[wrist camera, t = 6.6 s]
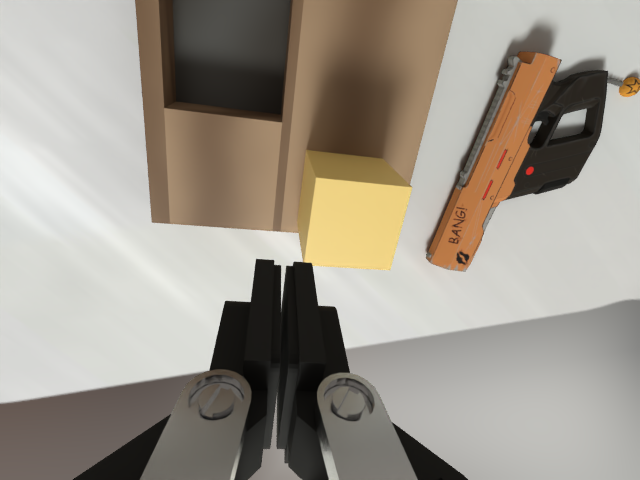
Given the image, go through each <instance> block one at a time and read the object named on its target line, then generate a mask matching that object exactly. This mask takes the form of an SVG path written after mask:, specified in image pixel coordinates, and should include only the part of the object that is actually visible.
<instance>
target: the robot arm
mask: <svg viewBox="0 0 640 480" xmlns="http://www.w3.org/2000/svg"><path fill="white" fill-rule="evenodd" d="M276 396H277V449H285V463H288V465H289V467H290V468H291V469H292V470H293V471H294V472H295V473H296V474H297V475H298V476H299V477H300V480H468V479H467V478H466V477H465V476H464V475H462V474H461V473H460V472H458V471H457V470H456V469H454V468H453V467H452V466H450V465H449V464H448V463H446V462H445V461H444V460H442V459H441V458H439V457H438V456H437V455H435V454H434V453H432V452H431V451H430V450H428V449H427V448H426V447H425V446H423V445H422V444H421V443H419V442H418V441H417V440H415V439H414V438H413V437H411V436H410V435H408V434H407V433H406V432H405V431H403V430H402V429H400V428H399V427H398V426H396V425H395V424H394V423H392V422H391V420H390V417H389V415H388V413H387V411H386V409H385V406H384V404H383V402H382V400H381V398H380V395H379V394H378V392H377V391H376V389H375V387H374V386H373V385H371V383H369V382H368V381H367V380H365V379H364V378H362V377H360V376H358V375H355V374H351V373H350V371H349V366H348V361H347V357H346V352H345V347H344V342H343V338H342V333H341V328H340V324H339V319H338V314H337V310H336V308H335V307H330V306H318V302H317V295H316V288H315V281H314V274H313V266H312V263H306V262H294V263H293V266H286V273H285V282H284V291H283V300H282V309H281V265H274V260H264V259H256V264H255V272H254V280H253V289H252V297H251V302H237V301H225V304H224V308H223V313H222V317H221V322H220V326H219V330H218V335H217V339H216V344H215V348H214V353H213V357H212V362H211V366H210V371H206V372H204V373H202V374H200V375H198V376H196V377H195V378H194V379H192V380H191V381H190V382H189V383H188V384H187V385H186V386H185V388H184V389H183V391H182V393H181V395H180V397H179V399H178V401H177V403H176V406H175V408H174V410H173V412H172V414H170V415H169V416H167V417H166V418H164V419H163V420H161V421H160V422H158V423H157V424H155V425H154V426H152V427H151V428H149V429H148V430H146V431H145V432H143V433H142V434H140V435H139V436H137V437H136V438H134V439H133V440H131V441H130V442H128V443H127V444H125V445H124V446H122V447H121V448H120V449H118V450H116V451H115V452H113V453H112V454H110V455H109V456H107V457H106V458H104V459H103V460H101V461H100V462H98V463H97V464H95V465H94V466H92V467H91V468H89V469H88V470H86V471H85V472H83V473H82V474H80V475H79V476H77V477H76V478H74V479H73V480H248V479H249V478H250V477H251V476H252V475H253V474H254V473H255V472H256V471H257V470H258V469H259V468H260V467H261V462H262V453H263V449H270V445H271V437H272V429H273V421H274V413H275V404H276Z"/></svg>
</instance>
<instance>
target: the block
mask: <svg viewBox="0 0 640 480" xmlns="http://www.w3.org/2000/svg"><path fill="white" fill-rule="evenodd" d="M411 190H412V187H411V186H410V185H409V184H408V183H407V182H406V181H405V180H404V179H403V178H402V177H401V176H400V175H399V174H398V173H397V172H396V171H395V170H394V169H393V168H392V167H391V166H390V165H389V164H388V163H387V162H386V161H385V160H384V159H381V158H372V157H364V156H355V155H346V154H337V153H328V152H320V151H311V150H306V155H305V163H304V171H303V179H302V187H301V195H300V203H299V211H298V219H297V225H298V232H299V238H300V245H301V251H302V257H303V262H306V263H312V266H326V267H344V268H361V269H378V270H390V269H391V265H392V261H393V258H394V254H395V250H396V247H397V243H398V239H399V235H400V232H401V228H402V224H403V220H404V217H405V213H406V209H407V205H408V202H409V198H410V194H411Z"/></svg>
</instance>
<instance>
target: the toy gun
mask: <svg viewBox="0 0 640 480" xmlns="http://www.w3.org/2000/svg"><path fill="white" fill-rule="evenodd" d="M561 61H562V60H560V59H558V58H555V57H552V56H549V55H546V54H541V53H537V52H519V54H518V56H509V58H508V67H507V68H506V69H503V70H502V73H501V74H504V76H503V78H502V80H498V82H497V84H498V86H499V88H498V90H497V92H496V95H495V97H494V100H493V102H492V104H491V107H490V109H489V111H488V114H487V116H486V118H485V121H484V123H483V125H482V128H481V130H480V132H479V135H478V137H477V139H476V142H475V144H474V147H473V149H472V151H471V154H470V156H469V158H468V161H467V163H466V165H465V168H464V170H463V171H461V172H460V179H459V182H458V183H457V185H456V187H455V189H454V192H453V194H452V197H451V199H450V201H449V204H448V206H447V208H446V211H445V213H444V215H443V218H442V220H441V222H440V225H439V227H438V230H437V232H436V234H435V237H434V239H433V241H432V244H431V246H430V248H429V251H428V253H427V254H426V255H427V256H426V259H427V260H428V261H429V262H430V263H431V264H434V265H436V266H439V267H442V268H445V269H448V270H455V271H463V272H466V269H467V268H468V267H469V265H470V264H471V261H472V259H473V257H474V255H475V253H476V251H477V249H478V247H479V245H480V243H481V241H482V236H483V234H484V230H485V228H486V226H487V224H488V222H489V220H490V218H491V216H492V214H493V212H494V210H495V208H496V207H497V206H498V204H499V203H500V201H504V200H507V199H511V198H515V197H519V196H523V195H527V194H531V193H533V194H540V193H544V192H547V191H551V190H555V189H558V188H562V187H564V186H565V185H566V184H569V183H571V182H572V181H574V180H575V179H577V177H578V175H579V173H580V172H581V170H582V168H583V166H584V164H585V163H586V161H587V159H588V157H589V155H590V154H591V152H592V150H593V148H594V147H595V145H596V143H597V141H598V139H599V137H600V133H601V128H602V122H603V115H604V108H605V101H606V92H607V83H611V84H615V85H618V86H620V88H619V93H620V95H622V96H624V97H629V96H632V95H635V94H636V93H637V92H638V91H639V90H640V80H639V79H638V78H635V77H629V78H627V79H625V80H624V81H623V82H621V81H617V80H614V79H613V78H610V79H608V78H607V77H608V71H602V70H595V71H587V72H580V73H576V74H573V75H571V76H569V77H567V78H566V79H564V80H562V81H560V82H553V78H554V76H555V74H556V71H557V69H558V67H559V65H560V63H561ZM586 108H587V113H586V120H585V126H584V130H583V131H582V133H580V134H578V135H574V136H568V137H563V138H557V139H552V140H550V139H551V137H552V135H553V133H554V131H555V129H556V127H557V125H558V123H559V121H560V119H561V117H562V116H563V114H566V113H570V112H573V111H577V110H581V109H586ZM535 121H542V124H541V126H540V128H539V129H538V131H537V133H536V135H535V137H534V139H533V141H532V142H531V143H530V144H528V137H529V134H530V131H531V129H532V126H533V125H534V122H535Z"/></svg>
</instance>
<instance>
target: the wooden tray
mask: <svg viewBox="0 0 640 480" xmlns="http://www.w3.org/2000/svg"><path fill="white" fill-rule="evenodd" d="M457 1H458V0H135V4H136V17H137V30H138V44H139V57H140V70H141V84H142V97H143V110H144V123H145V137H146V150H147V163H148V177H149V190H150V203H151V217H152V222H153V223H167V224H181V225H195V226H209V227H223V228H237V229H251V230H265V231H279V232H293V233H299V232H298V225H297V219H298V211H299V203H300V195H301V187H302V179H303V171H304V163H305V155H306V150H311V151H320V152H328V153H337V154H346V155H355V156H364V157H372V158H381V159H384V160H385V161H386V162H387V163H388V164H389V165H390V166H391V167H392V168H393V169H394V170H395V171H396V172H397V173H398V174H399V175H400V176H401V177H402V178H403V179H404V180H405V181H406V182H407V183H408V184H409V185H410V182H411V178H412V174H413V170H414V166H415V162H416V159H417V155H418V151H419V147H420V143H421V139H422V136H423V132H424V128H425V124H426V120H427V116H428V112H429V109H430V105H431V101H432V97H433V93H434V89H435V86H436V82H437V78H438V74H439V70H440V66H441V63H442V59H443V55H444V51H445V47H446V43H447V40H448V36H449V32H450V28H451V24H452V20H453V17H454V13H455V9H456V5H457Z"/></svg>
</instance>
